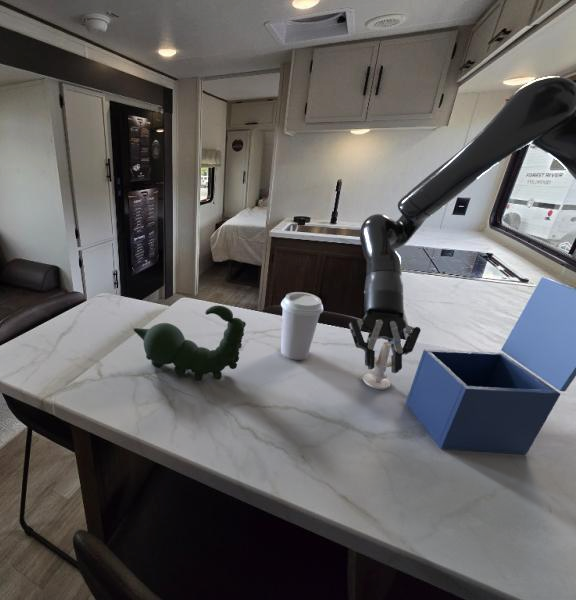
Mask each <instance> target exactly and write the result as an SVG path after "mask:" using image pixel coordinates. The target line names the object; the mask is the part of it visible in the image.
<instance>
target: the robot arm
mask: <svg viewBox="0 0 576 600" xmlns="http://www.w3.org/2000/svg"><path fill="white" fill-rule="evenodd" d="M529 144H532V145H533V146H535V147H537V148H538V149H540V150H542V152H545V153H546V154H548V155H549V156H551V157H552V158H554V159H555V160H557V161H558V162H559V163H560V164H561V165H562V166H563V167H564V169H566V171H568V173H569V174H570V175H571V176H572V177H573V178H574V180H576V83H575V82H574V81H573V80H572V79H570V78H567V77H563V76H547V77H542V78H538V79H536V80H533V81H530V82H528V83H527V84H524V85H523V86H522V87H520V88H519V89H518V90H517V91H515V92H514V93H513V94H512V95H511V96H510V97H509V99H508V100H507V102H506V103H505V105H504V106H503V107H502V108H501V109H500V111H499V112H498V113H497V114H496V115H495V116H494V117H493V118H492V119H491V121H489V122H488V124H487V125H485V127H484V128H483V129H482V130H481V131H480V132H479V133H478V134H476V136H474V138H472V139H471V140H470V142H469V143H467V144H466V145H465V146H464V147H463V148H461V149H460V150H459V151H458V152H457V153H455V154H454V155H453V156H452V157H450V158H449V159H448V160H447V161H445V162H444V163H443V164H442V165H440V166H438V168H436V169H435V170H434V171H432V172H431V173H430V174H429V175H427V176H426V177H425V178H424V179H422V180H421V181H420V182H419V183H418V184H416V186H414V187H413V188H411V189H410V190H409V191H408V192H407V193H406V194H405V195H404V196H402V197H401V198H400V199H399V201H398V202H397V210H398V211H399V213H400V214H401V215H400V217H399V218H398V219H397V220H395V219H392V218H391V217H388V216H387V215H385V214H381V213H375V214H372V215H370V216H368V217H367V218H366V219H365V220H364V221H363V223H362V224H361V227H360V230H359V242H360V245H361V249H362V253H363V256H364V259H365V261H366V267H365V282H364V290H363V295H364V300H363V317H362V318H361V319H351V321H349V323H348V328H349V331H350V334H351V336H352V339H353V342H354V344H355V347H356V348H357V349H361V350H362V351H364V365H365V367H367V370H371V369H374V367H375V357H376V353H375V352H376V350H374V349H375V346H376V343H377V340H380V339H381V340H385V341H388V343H389V344H390V345H391V347H390V351H391V353H392V355H391V356H390V357H391V358H390V359H391V360H390V361H391V362H392V366H391V367H390V368H391V369H390V370H391V373H393V374H397V373H399V372H400V371H401V370H402V369H403V355H408V354H410V353H412V352H413V350H414V348H415V345H416V343H417V341H418V338H419V336H420V334H421V331H422V330H421V328H420V327H419V326H415V327H414V326H411V325H408V324H407V322H406V320H405V318H404V316H405V314H404V313H405V312H404V283H403V277H402V273H403V272H402V259H401V256H400V254H399V253H398V252H397V251H396V250H398V249H401V248H402V247H404V246H405V245H406V244H407V242H409V241H410V240H411V238H412V237H413V236H414V235H415V234H416V232H417V231H418V230H419V229H420V228H421V226H422V225H423V224H424V223H425V222H426V221H427V219H429V218H431V216H433V215H434V214H435V213H437V212H438V211H439V210H440V209H442V208H443V207H444V206H446V205H447V204H449V203H450V202H451V201H452V200H453V199H455V198H456V197H457V196H458V195H460V194H461V193H462V192H464V190H466V189H467V188H468V187H469V186H470V185H471V184H473V183H474V182H475V181H477V180H478V179H479V178H480V177H482V175H484V174H485V173H487V172H488V171H490V170H491V169H492V168H493V167H494V166H497V164H499V163H500V162H502V161H503V160H504V159H506V158H507V157H510V156H511V155H513V154H514V153H515V152H517V151H518V150H521V149H522V148H524V147H525V146H527V145H529ZM363 327H364V330H366V332H367V333H368V335H367V339H366V341H365V339H364V336H363V334H362V331H361V329H362V328H363ZM403 331H404V335H405V337H406V339H405V342H404V345H402V343H401V342H402V339H401V336H400V334H401V333H402V332H403Z"/></svg>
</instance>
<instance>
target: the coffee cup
mask: <svg viewBox="0 0 576 600" xmlns="http://www.w3.org/2000/svg"><path fill="white" fill-rule="evenodd" d="M280 307H281V308H282V316H281V317H282V318H281V339H280V341H281V342H280V352H281V354H282V355H283V356H284V357H285V358H288V359H290V360H295V361H301V360H305V359H307V358H308V356H309V352H310V350H311V345H312V342H313V339H314V336H315V332H316V329H317V326H318V323H319V318H320V315H321V314H322V313H323V312H324V305H323V303H322V300H321V298H320V297H318V296H317V295H315V294H312V293H309V292H302V291H295V292H289V293H287V294H286V295H285V297H284V298H282V300H281V302H280Z"/></svg>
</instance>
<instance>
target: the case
mask: <svg viewBox="0 0 576 600" xmlns="http://www.w3.org/2000/svg"><path fill="white" fill-rule="evenodd" d="M413 377H414V378H413V380H412V383H411V385H410V389H409V392H408V394H407V398H406V401H405V405H406V406H407V407H408V409H409V410H410V411H411V412H412V414H413V415H414V416H415V417H416V419H417V420H418V422H419V423H420V424H421V425H422V426H423V428H424V429H425V431H426V432H427V433H428V434H429V436H430V437H431V438H432V440H433V441H434V442H435V444H436V445H437V446H438V447H439V449H441V450H451V451H465V452H466V451H468V452H480V453H481V452H483V453H498V454H511V455H528V452H529V451H530V449H531V447H532V446H533V444H534V442H535V440H536V438H537V437H538V436H539V433H540V432H541V430H542V428H543V426H544V425H545V423H546V421H547V419H548V417H549V416H550V415H551V412H552V411H553V409H554V407H555V405H556V403H557V402H558V400H559V399H560V396H561V393H560V391H557V389H556V388H553V386H550V384H548V383H547V382H545V381H544V380H543V379H541V378H540V377H539V378H538V376H537V375H535V374H534V373H533V372H531V371H530V370H528V369H527V368H525V367H524V366H523V365H521V364H520V363H519V364H518V362H517V361H515V360H514V359H512V358H511V357H510V356H508V355H507V354H505V353H504V352H495V351H494V352H493V351H492V352H491V351H471V350H470V351H468V350H446V349H445V350H444V349H423V351H422V354H421V357H420V360H419V362H418V365H417V369H416V372H415V374H414V376H413Z"/></svg>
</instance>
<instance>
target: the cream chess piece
mask: <svg viewBox="0 0 576 600" xmlns="http://www.w3.org/2000/svg"><path fill="white" fill-rule="evenodd" d="M390 351H391V345H390V344H389V343H388V340H386V341H383V342H382V345H381V348H380V351H379V354H378V356H375V367H374V369H370V371H369V372H368V373H365V374H364V375H363V376H362V380H363V382H364V384H365V385H367V386H368V387H370V388H373V389H376V390H387V389H389V388H390V386H391V382H390V379H388V378H387V377H388V374H387V372H386V371H387V368H391V366H392V362H391V360H390V359H389V355H390Z"/></svg>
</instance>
